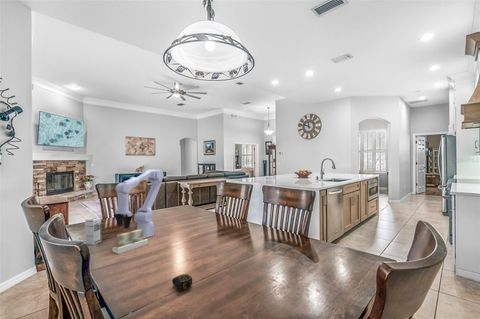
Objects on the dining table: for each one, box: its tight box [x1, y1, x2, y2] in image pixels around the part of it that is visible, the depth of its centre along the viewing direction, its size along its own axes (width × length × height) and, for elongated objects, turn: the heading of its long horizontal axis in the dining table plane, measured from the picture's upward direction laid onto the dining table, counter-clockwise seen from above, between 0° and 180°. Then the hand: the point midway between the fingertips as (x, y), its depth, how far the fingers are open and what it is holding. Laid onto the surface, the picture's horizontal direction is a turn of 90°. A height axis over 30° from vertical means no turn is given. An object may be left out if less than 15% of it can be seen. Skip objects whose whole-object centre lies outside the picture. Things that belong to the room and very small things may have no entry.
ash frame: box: [116, 229, 144, 248], centre depth 131 cm, size 14×3×8 cm, turn 143°
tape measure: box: [172, 273, 193, 292], centre depth 91 cm, size 7×7×4 cm
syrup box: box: [84, 216, 102, 246], centre depth 139 cm, size 6×6×14 cm
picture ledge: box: [111, 238, 149, 255], centre depth 131 cm, size 17×7×4 cm, turn 143°
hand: (123, 226), depth 137 cm, fingers open, 7 cm apart
